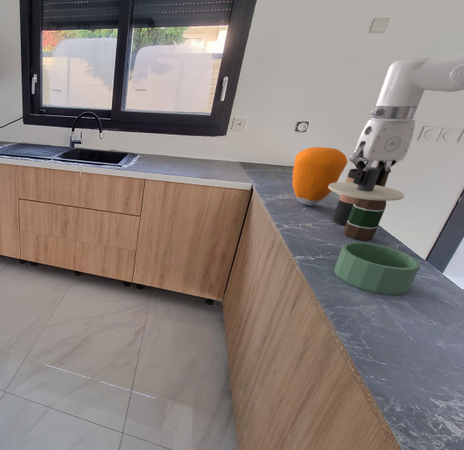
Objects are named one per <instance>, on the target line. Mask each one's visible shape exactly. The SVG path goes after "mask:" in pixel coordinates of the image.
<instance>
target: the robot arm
mask: <svg viewBox="0 0 464 450" xmlns="http://www.w3.org/2000/svg"><path fill="white" fill-rule="evenodd" d="M425 91H432V92H447V93H452V92H453V93H454V92H459V91H460V92H461V91H464V52H462V53H458V54H454V55H450V56H446V57H437V58H431V57H430V58H428V57H420V58H418V57H417V58H403V59H398V60H395V61H393V62H392V63H391V64H390V65H389V67H388V70H387V72H386V75H385V78H384V81H383V83H382V87H381V89H380V92H379V95H378V98H377V101H376V104H375V107H374V109H372V110H371V111H370V116H371V118H370V119H369V120H368V121H367V122H366V124H365V125H364V128H363V130H362V132H361V134H360V136H359V137H358V140H357V143H356V145H355V148H354V152H353V153H352V155H351V156H350V157H349V159H348V161H349V162H351V163H352V164H353V165H354V166H355V169H358V170H357V173H356V176H355V179H354V182H353V183H354V184H357V185H360V186H365V185H366V183H367V180H368V177H369V175H370V172H369V171H368V170H369V169H370V167H372V165H373V163H374V161H375V162H376V165H375V167H376V168H380V169H381V171H380V174H379V176H378V179H377V182H376V184H375V185H377V186H380V185H381V184H382V181H383V179H384V176H385V173H386V171H389V170H390V169H391V168H392V167H393V166H394V165H396V164H398V163H400V162H401V161H404V160H405V157H406V156H407V153H408V151H409V149H410V146H411V143H412V139H413V136H414V132H415V126H416V120H415V119H414V117H415V115H416V112H417V110H418V106H419V104H420V102H421V99H422V97H423V94H424V92H425Z"/></svg>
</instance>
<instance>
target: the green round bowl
mask: <svg viewBox="0 0 464 450" xmlns="http://www.w3.org/2000/svg"><path fill="white" fill-rule="evenodd" d="M420 268H421V263H420V261H419V260H418V259H416V258H415V257H414V256H412V255H411V254H408V253H406V252H404V251H402V250H399V249H395V248H393V247H390V246H386V245H381V244H376V243H371V242H365V241H364V242H363V241H350V242H347V243H344V244H343V245H342V248H341V250H340V253H339V256H338V258H337V261H336V263H335V266H334V269H333V272H334V274H335V275H336V276H337V277H338V278H339V279H340V280H342V281H344V282H345V283H347V284H349V285H351V286H353V287H355V288H358V289H361V290H364V291H367V292H371V293H375V294H381V295H386V296H400V295H405V294H406V293H407V292H408V291H409V290H410V288H411V286H412V284H413V282H414V279H415V278H416V276H417V274H418V272H419V270H420Z"/></svg>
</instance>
